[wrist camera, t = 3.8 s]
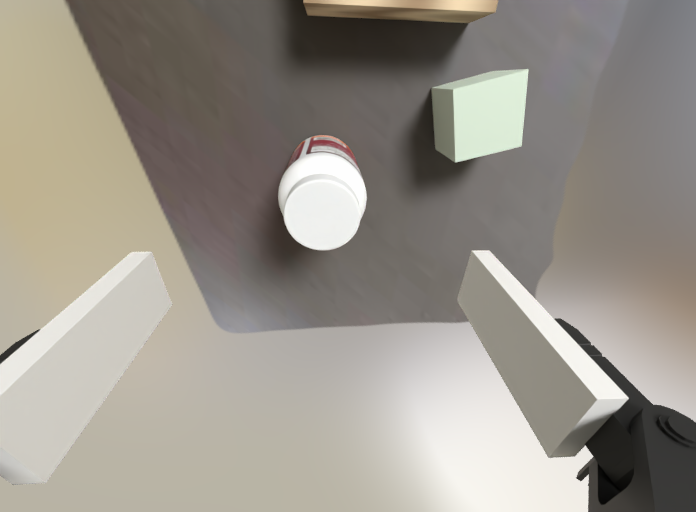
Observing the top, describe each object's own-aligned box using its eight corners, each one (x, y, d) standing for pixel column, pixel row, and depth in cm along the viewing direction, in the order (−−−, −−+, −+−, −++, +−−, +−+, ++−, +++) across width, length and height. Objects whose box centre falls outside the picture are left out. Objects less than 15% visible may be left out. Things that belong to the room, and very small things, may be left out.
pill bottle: (311, 211, 28) (302, 275, 19) (277, 154, 25) (246, 197, 16) (367, 183, 27) (387, 237, 18) (338, 120, 24) (344, 145, 15)
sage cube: (435, 149, 26) (455, 162, 22) (430, 87, 23) (453, 89, 19) (489, 135, 26) (521, 146, 21) (492, 71, 23) (528, 69, 19)
